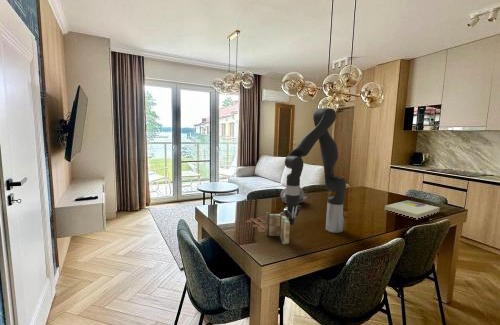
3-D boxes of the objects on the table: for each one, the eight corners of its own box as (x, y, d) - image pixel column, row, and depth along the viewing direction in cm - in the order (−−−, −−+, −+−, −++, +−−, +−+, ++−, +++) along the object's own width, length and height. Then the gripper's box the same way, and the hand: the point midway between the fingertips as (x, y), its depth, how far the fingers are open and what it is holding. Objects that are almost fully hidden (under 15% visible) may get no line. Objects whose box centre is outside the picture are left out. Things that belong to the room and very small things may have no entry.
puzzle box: (383, 211, 195) (417, 220, 174) (384, 205, 194) (417, 214, 174) (407, 205, 213) (440, 213, 193) (408, 200, 213) (440, 207, 192)
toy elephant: (297, 200, 221) (295, 184, 222) (310, 201, 206) (308, 184, 207) (279, 205, 211) (277, 187, 212) (292, 206, 196) (290, 187, 197)
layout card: (300, 233, 145) (300, 232, 145) (308, 244, 130) (308, 243, 130) (260, 233, 144) (260, 232, 144) (263, 244, 129) (263, 244, 129)
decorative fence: (263, 218, 170) (244, 221, 164) (263, 216, 170) (244, 219, 163) (283, 230, 150) (261, 234, 143) (283, 228, 150) (261, 231, 143)
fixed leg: (283, 233, 143) (284, 212, 141) (283, 235, 140) (284, 213, 139) (265, 233, 142) (265, 212, 140) (265, 235, 140) (266, 213, 138)
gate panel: (280, 235, 140) (281, 215, 138) (283, 235, 140) (284, 215, 139) (285, 243, 129) (286, 222, 128) (289, 243, 130) (289, 222, 128)
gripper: (289, 196, 124) (288, 229, 126) (306, 192, 132) (304, 223, 134) (279, 193, 130) (278, 224, 132) (295, 190, 138) (294, 219, 140)
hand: (291, 224), depth 133 cm, fingers closed
